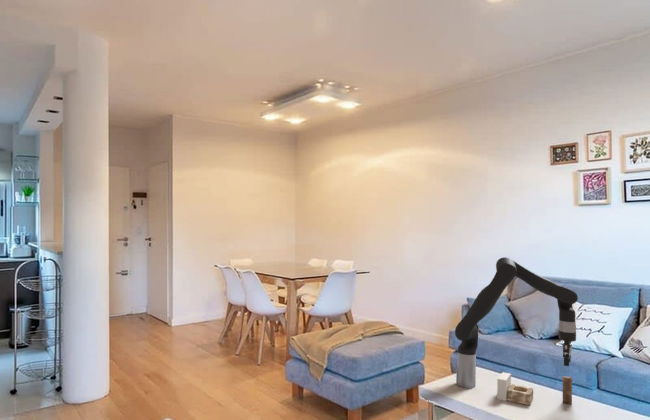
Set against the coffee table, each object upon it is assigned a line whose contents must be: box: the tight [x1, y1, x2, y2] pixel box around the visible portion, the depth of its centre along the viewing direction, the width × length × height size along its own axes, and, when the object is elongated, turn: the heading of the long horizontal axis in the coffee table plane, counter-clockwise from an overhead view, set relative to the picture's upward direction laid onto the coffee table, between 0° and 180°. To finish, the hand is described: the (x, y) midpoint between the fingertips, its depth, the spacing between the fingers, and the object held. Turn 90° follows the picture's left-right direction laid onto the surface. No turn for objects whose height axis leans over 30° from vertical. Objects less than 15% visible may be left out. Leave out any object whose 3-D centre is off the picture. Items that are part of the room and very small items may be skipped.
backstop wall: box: [496, 372, 512, 402], centre depth 223 cm, size 4×12×10 cm, turn 147°
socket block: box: [507, 383, 534, 406], centre depth 218 cm, size 10×10×5 cm
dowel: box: [562, 375, 573, 405], centre depth 216 cm, size 4×4×12 cm
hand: (567, 363), depth 217 cm, fingers open, 8 cm apart
